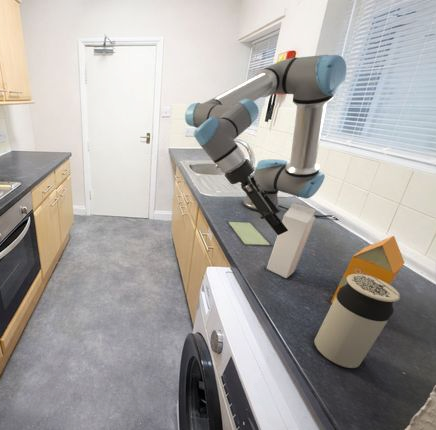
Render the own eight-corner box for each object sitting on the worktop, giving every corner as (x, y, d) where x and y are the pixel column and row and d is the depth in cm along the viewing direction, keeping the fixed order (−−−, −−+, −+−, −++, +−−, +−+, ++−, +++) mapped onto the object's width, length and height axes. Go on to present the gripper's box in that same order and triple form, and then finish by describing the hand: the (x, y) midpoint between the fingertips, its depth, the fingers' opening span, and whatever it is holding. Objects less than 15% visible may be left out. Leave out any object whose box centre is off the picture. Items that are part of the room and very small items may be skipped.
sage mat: (249, 223, 113) (249, 222, 113) (270, 245, 97) (270, 244, 96) (228, 222, 113) (228, 221, 113) (245, 244, 97) (245, 243, 97)
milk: (286, 278, 79) (311, 212, 70) (265, 268, 84) (287, 205, 74) (294, 271, 83) (320, 207, 73) (274, 262, 87) (296, 200, 78)
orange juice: (378, 307, 69) (417, 242, 61) (366, 321, 65) (406, 253, 56) (342, 290, 75) (373, 228, 67) (329, 301, 71) (360, 237, 62)
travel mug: (325, 365, 54) (363, 297, 46) (307, 333, 61) (336, 270, 53) (369, 372, 53) (415, 304, 45) (345, 339, 60) (381, 275, 52)
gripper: (223, 164, 89) (261, 212, 90) (223, 186, 67) (272, 249, 69) (244, 150, 85) (283, 200, 86) (250, 168, 63) (302, 235, 65)
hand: (278, 222), depth 78 cm, fingers open, 13 cm apart
